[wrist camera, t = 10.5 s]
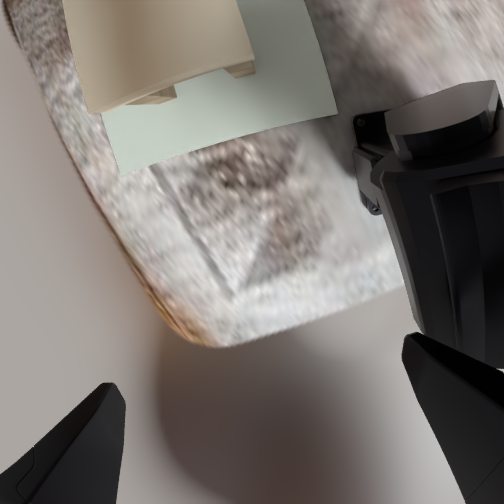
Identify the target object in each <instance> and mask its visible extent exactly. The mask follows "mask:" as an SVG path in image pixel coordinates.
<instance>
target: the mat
mask: <svg viewBox="0 0 504 504" xmlns="http://www.w3.org/2000/svg"><path fill="white" fill-rule="evenodd" d="M236 2H237V5H238V8H239V11H240V14H241V17H242V20H243V23H244V26H245V29H246V32H247V35H248V38H249V41H250V45H251V48H252V51H253V54H254V57H255V60H252V62H253V65H254V68H255V72H256V74H252V75H248V76H245V77H241V78H237V79H235V78H234V77H233V76H232V75H231V74H229V73H228V72H227V71H226V70H225V69H219V70H216V71H213V72H210V73H206V74H203V75H200V76H197V77H194V78H191V79H189V80H186V81H183V82H180V83H177V84H175V85H174V88H175V91H176V94H177V98H175V99H172V100H170V101H167V102H164V103H162V104H151V105H123V106H121V107H119V108H117V109H115V110H113V111H110V112H103V113H101V116H102V119H103V122H104V125H105V129H106V132H107V135H108V138H109V141H110V144H111V147H112V150H113V153H114V156H115V159H116V162H117V165H118V168H119V170H120V173H121V176H123V175H125V174H128V173H130V172H133V171H136V170H138V169H141V168H144V167H146V166H149V165H152V164H155V163H158V162H161V161H163V160H166V159H169V158H172V157H175V156H178V155H181V154H184V153H187V152H190V151H194V150H197V149H200V148H203V147H206V146H210V145H213V144H216V143H220V142H223V141H227V140H230V139H234V138H237V137H241V136H244V135H248V134H252V133H256V132H260V131H263V130H267V129H271V128H276V127H280V126H284V125H288V124H293V123H297V122H301V121H306V120H311V119H315V118H320V117H325V116H330V115H336V114H338V111H337V107H336V103H335V99H334V95H333V92H332V88H331V84H330V80H329V77H328V73H327V70H326V66H325V63H324V60H323V56H322V53H321V50H320V46H319V43H318V40H317V37H316V34H315V31H314V28H313V25H312V22H311V19H310V16H309V13H308V10H307V8H306V5H305V2H304V0H236Z"/></svg>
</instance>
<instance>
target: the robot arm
mask: <svg viewBox="0 0 504 504" xmlns="http://www.w3.org/2000/svg"><path fill="white" fill-rule="evenodd" d="M360 118H361V119H362V120H363V124H362V126H358V125H357V120H358V119H360ZM351 124H352V128H353V133H354V138H355V142H356V147H354V149H353V150H352V154H353V159H354V164H355V169H356V175H357V180H358V186H359V189H360V190H361V191H362V192H363V193H364V194H365V197H366V203H367V208H368V211H369V212H370V213H371V214H372V215H381V214H383V217H384V219H385V222H386V225H387V228H388V231H389V234H390V237H391V240H392V243H393V246H394V249H395V252H396V256H397V259H398V262H399V265H400V269H401V272H402V276H403V279H404V283H405V286H406V290H407V294H408V297H409V301H410V305H411V309H412V313H413V317H414V319H415V321H416V323H417V325H418V327H419V328H420V330H421V332H422V333H423V334H424V335H423V334H421V333H419V332H414V333H411V334H407V335H406V336H405V338H404V343H403V350H402V362H403V364H404V366H405V369H406V372H407V374H408V377H409V380H410V382H411V385H412V387H413V390H414V393H415V395H416V398H417V400H418V402H419V404H420V406H421V408H422V410H423V412H424V414H425V416H426V418H427V420H428V422H429V424H430V426H431V428H432V430H433V432H434V434H435V436H436V438H437V440H438V442H439V444H440V446H441V449H442V451H443V453H444V455H445V457H446V459H447V462H448V464H449V466H450V468H451V470H452V473H453V475H454V477H455V479H456V482H457V484H458V486H459V488H460V491H461V493H462V495H463V498H464V500H465V503H466V504H504V373H503V372H502V371H500V370H498V369H504V107H503V103H502V100H501V97H500V94H499V91H498V88H497V85H496V82H495V80H488V81H479V82H470V83H463V84H459V85H456V86H453V87H451V88H448V89H445V90H442V91H439V92H437V93H434V94H431V95H428V96H426V97H423V98H420V99H418V100H415V101H413V102H410V103H407V104H405V105H402V106H400V107H397V108H395V109H388V110H381V111H375V112H368V113H362V114H357V115H354V116H353V117H352V120H351ZM374 205H376V206H377V207H378V208H377V209H376V210H373V209H372V208H373V206H374ZM125 411H126V404H125V400H124V398H123V397H122V395H121V393H120V391H119V390H118V388H117V386H116V385H115V384H114V383H102V384H100V385H99V386H98V387H97V388H96V389H95V390H94V391H93V392H92V393H90V394H89V395H88V396H87V397H86V398H85V399H84V400H83V401H82V402H81V403H80V404H79V405H77V407H75V408H74V409H73V410H72V411H71V412H70V413H69V414H68V415H67V416H66V417H64V418H63V419H62V420H61V421H60V422H59V423H58V424H57V425H56V426H55V427H54V428H53V429H52V430H50V431H49V432H48V433H47V434H46V435H45V436H44V437H43V438H42V439H41V440H40V441H39V442H37V443H36V444H35V445H34V447H32V448H31V449H30V450H29V451H28V452H27V453H26V454H24V456H22V457H21V458H20V459H19V460H18V461H17V462H15V463H14V464H13V465H12V466H10V467H9V468H8V469H7V470H5V471H4V472H3V473H1V474H0V504H116V499H117V490H118V482H119V475H120V468H121V461H122V453H123V445H124V427H125Z"/></svg>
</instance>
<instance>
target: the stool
mask: <svg viewBox="0 0 504 504" xmlns="http://www.w3.org/2000/svg"><path fill="white" fill-rule="evenodd" d="M62 3H63V9H64V15H65V20H66V25H67V30H68V35H69V40H70V44H71V49H72V53H73V58H74V62H75V66H76V70H77V74H78V78H79V82H80V86H81V89H82V93H83V97H84V100H85V104H86V107H87V111H88V114H94V113H103V112H110V111H113V110H115V109H117V108H119V107H121V106H123V105H151V104H162V103H164V102H167V101H170V100H172V99H175V98H177V94H176V91H175V88H174V85H175V84H177V83H180V82H183V81H186V80H189V79H191V78H194V77H197V76H200V75H203V74H206V73H210V72H213V71H216V70H219V69H225V70H226V71H227V72H228V73H229V74H231V75H232V76H233V77H234V78H235V79H237V78H241V77H245V76H248V75H252V74H256V72H255V68H254V65H253V62H252V60H255V57H254V54H253V51H252V48H251V45H250V41H249V38H248V35H247V32H246V29H245V26H244V23H243V20H242V17H241V14H240V11H239V8H238V5H237V2H236V0H62Z"/></svg>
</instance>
